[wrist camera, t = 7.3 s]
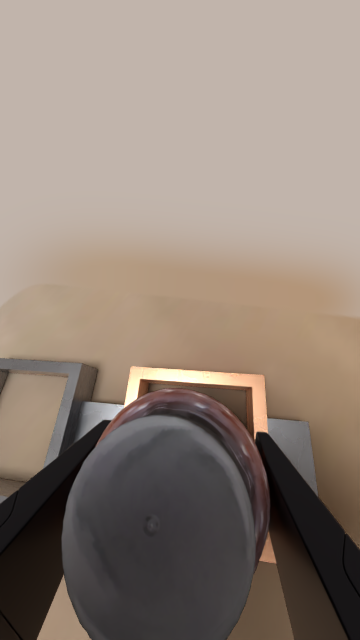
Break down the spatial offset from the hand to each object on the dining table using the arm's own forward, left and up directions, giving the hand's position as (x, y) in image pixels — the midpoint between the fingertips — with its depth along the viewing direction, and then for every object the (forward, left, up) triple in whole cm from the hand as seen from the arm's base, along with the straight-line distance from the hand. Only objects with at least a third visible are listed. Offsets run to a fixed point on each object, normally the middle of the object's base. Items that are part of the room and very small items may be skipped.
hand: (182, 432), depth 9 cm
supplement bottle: (-1, +1, -7) cm, 7 cm away
